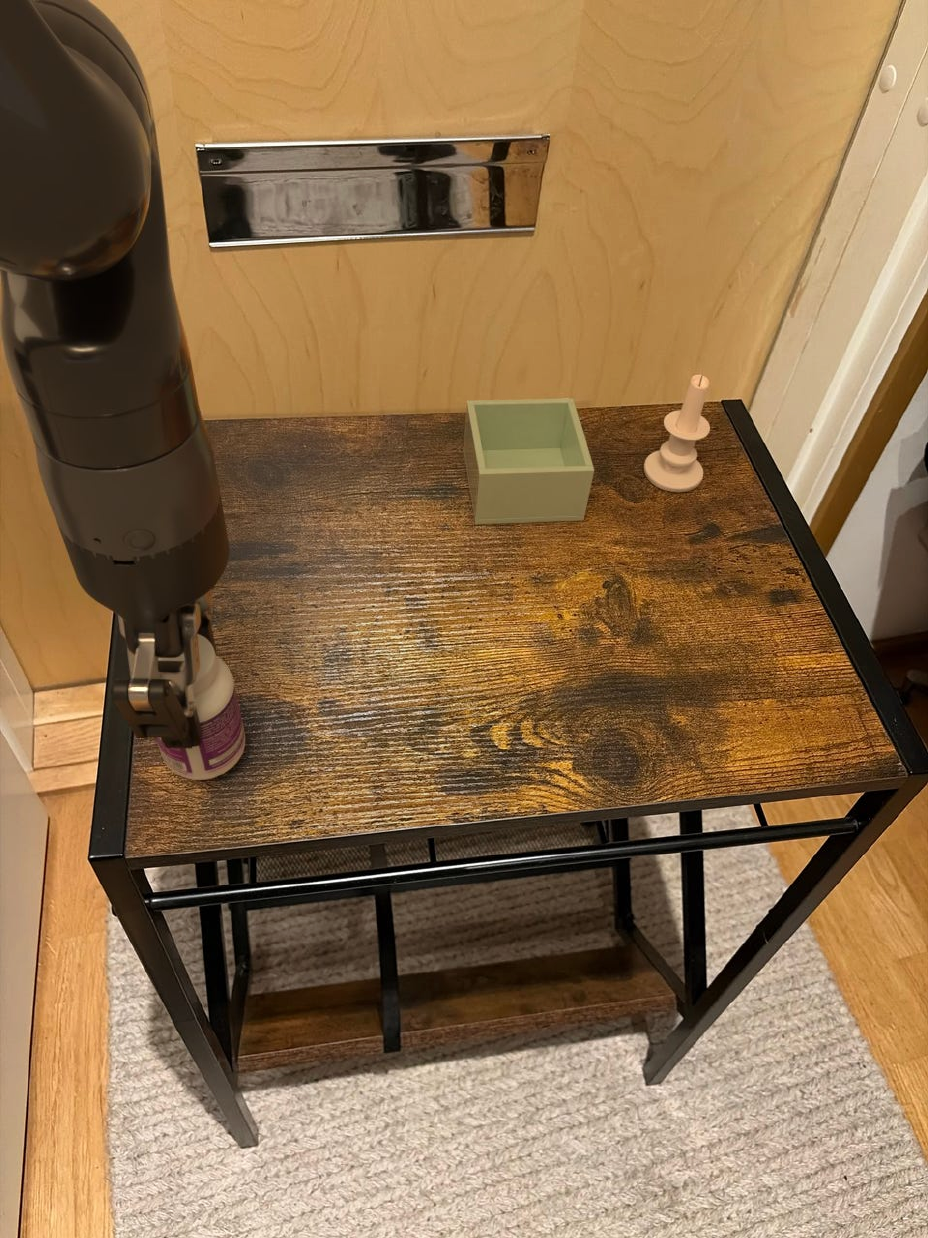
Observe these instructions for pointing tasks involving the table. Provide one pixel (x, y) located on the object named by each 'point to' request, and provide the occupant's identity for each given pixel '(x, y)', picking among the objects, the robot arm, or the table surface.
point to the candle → (681, 443)
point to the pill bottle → (210, 721)
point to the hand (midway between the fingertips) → (191, 699)
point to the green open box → (526, 461)
